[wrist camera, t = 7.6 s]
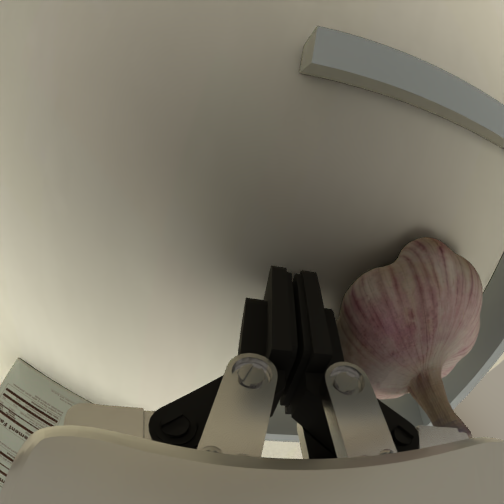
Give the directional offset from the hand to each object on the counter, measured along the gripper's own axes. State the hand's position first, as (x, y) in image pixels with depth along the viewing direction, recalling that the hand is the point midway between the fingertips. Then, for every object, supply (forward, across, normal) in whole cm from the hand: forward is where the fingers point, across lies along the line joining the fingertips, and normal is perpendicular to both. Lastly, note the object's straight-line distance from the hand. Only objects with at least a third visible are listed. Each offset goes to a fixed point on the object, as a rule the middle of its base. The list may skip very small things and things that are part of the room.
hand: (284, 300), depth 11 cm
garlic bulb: (+2, -5, 0) cm, 6 cm away
